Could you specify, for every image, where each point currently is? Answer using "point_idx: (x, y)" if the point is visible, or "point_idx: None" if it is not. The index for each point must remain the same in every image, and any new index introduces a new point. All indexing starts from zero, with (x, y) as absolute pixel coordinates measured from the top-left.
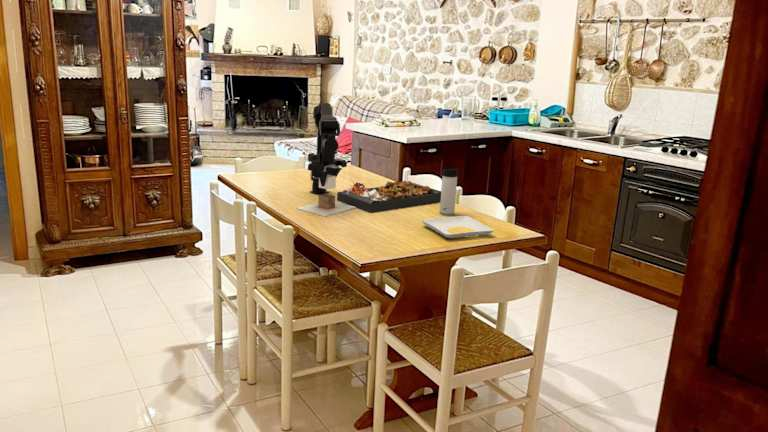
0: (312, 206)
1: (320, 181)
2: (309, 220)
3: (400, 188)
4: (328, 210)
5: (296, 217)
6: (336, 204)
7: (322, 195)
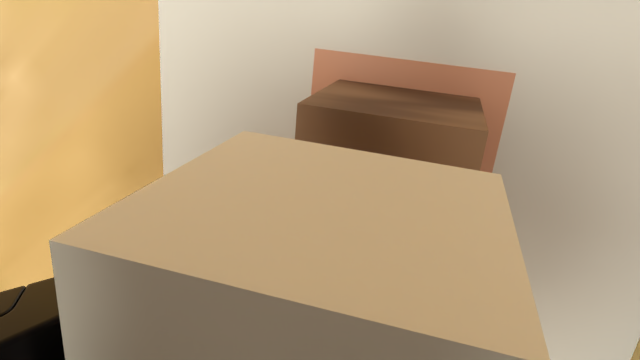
0: (325, 2)
1: None
2: (29, 223)
3: None
4: None
5: (3, 100)
6: (597, 177)
7: (341, 145)
